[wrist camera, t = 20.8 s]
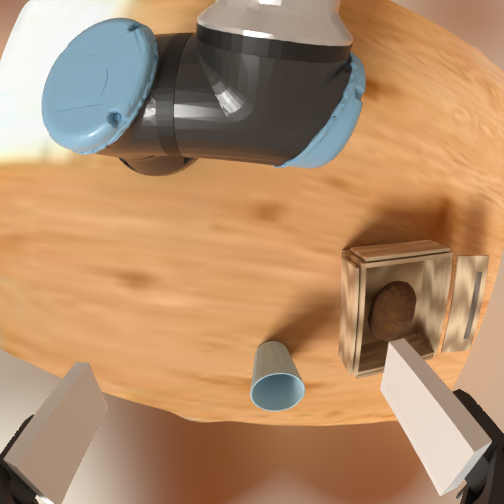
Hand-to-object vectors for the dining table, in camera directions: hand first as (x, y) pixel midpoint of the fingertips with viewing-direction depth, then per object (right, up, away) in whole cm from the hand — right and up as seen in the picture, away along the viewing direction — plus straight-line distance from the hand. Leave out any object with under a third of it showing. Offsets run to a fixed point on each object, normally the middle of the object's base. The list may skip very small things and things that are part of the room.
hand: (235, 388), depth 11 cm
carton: (+23, -2, +34) cm, 41 cm away
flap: (+32, -3, +26) cm, 41 cm away
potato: (+22, -2, +33) cm, 40 cm away
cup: (+4, -12, +36) cm, 38 cm away
